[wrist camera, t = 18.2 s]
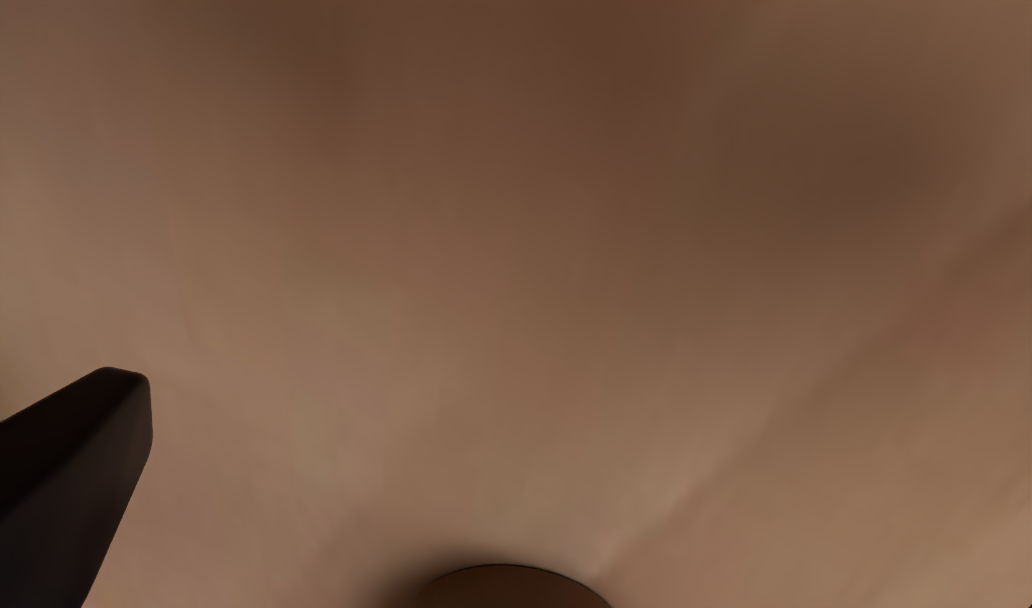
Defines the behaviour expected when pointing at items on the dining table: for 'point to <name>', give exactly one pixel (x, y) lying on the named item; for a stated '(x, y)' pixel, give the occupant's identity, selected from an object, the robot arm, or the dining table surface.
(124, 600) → the dining table surface
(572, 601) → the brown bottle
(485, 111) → the dining table surface
